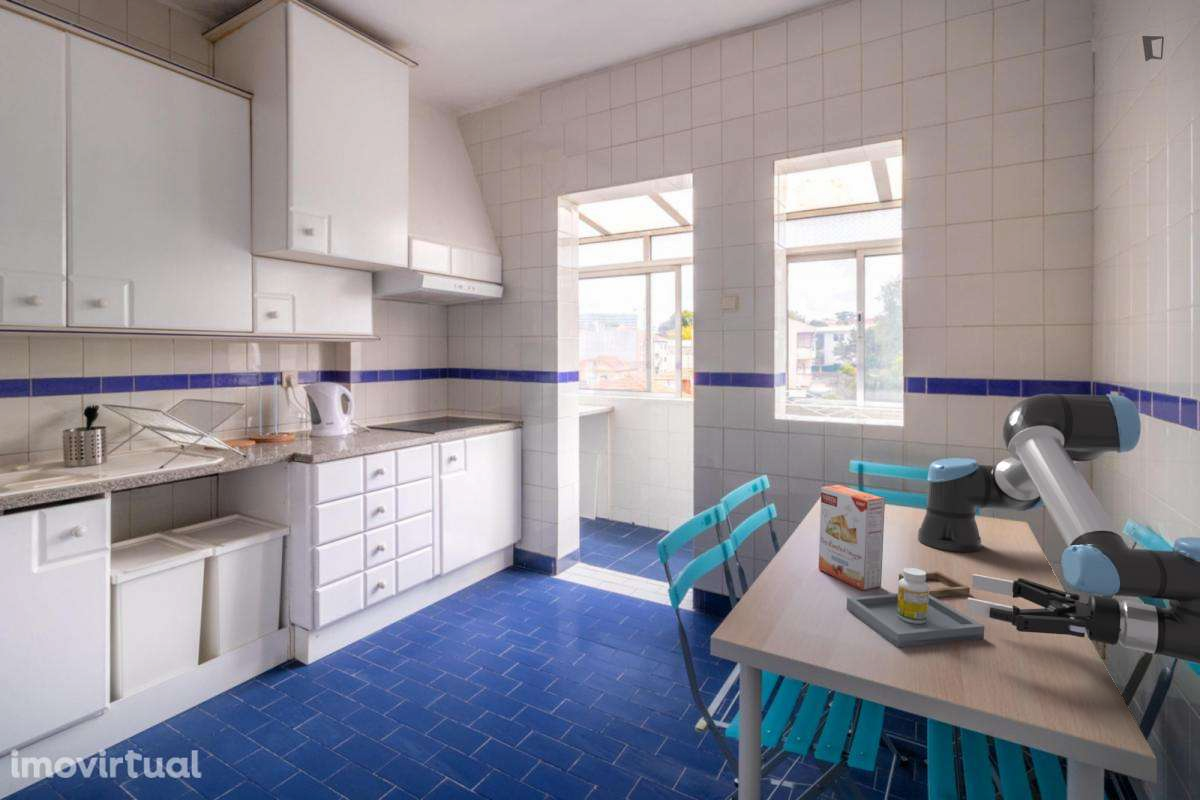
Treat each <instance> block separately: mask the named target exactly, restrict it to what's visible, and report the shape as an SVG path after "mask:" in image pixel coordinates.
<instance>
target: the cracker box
mask: <svg viewBox="0 0 1200 800" xmlns="http://www.w3.org/2000/svg"><path fill="white" fill-rule="evenodd" d="M820 488H821V489H820V513H819V514H820V515H819V518H820V519H819V544H818V547H819V548H818V570H819V571H822V572H823V573H826V574H828V575H829V576H833V577H834V578H837V579H838V580H840V581H842V582H845V583H847V584H848V585H851V586H853V587H855V588H857V589H860V590H861V591H867V590H871V589H875V588H880V587H882V578H883V577H882V574H883V573H882V571H883V554H884V553H883V551H884V531H885V529H884V527H885V511H886V510H885V509H886V508H885V506H886V503H885V502H886V499H885V498H884V497H881V496H877V495H874V494H870V493H867V492H864V491H860V490H858V489H854V488H851V487H847V486H844V485H840V484H836V485H835V484H834V485H825V486H821V487H820Z"/></svg>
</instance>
